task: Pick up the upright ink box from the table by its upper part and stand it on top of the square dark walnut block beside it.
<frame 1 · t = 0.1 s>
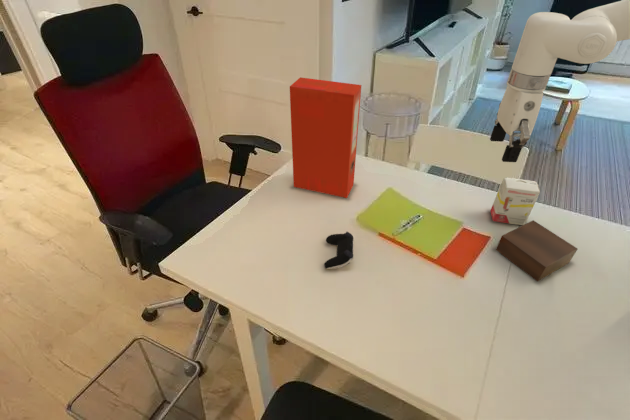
hand: (502, 150, 89), 23 cm above the table, tool pointing down, fingers open, 9 cm apart
gaming controller: (338, 255, 94), on the table
ink box: (506, 218, 105), on the table
file binder: (323, 186, 117), on the table
walnut block: (531, 256, 93), on the table
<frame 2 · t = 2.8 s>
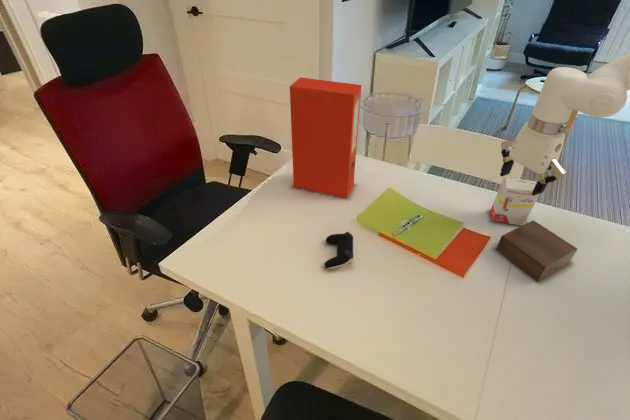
hand: (519, 183, 98), 12 cm above the table, tool pointing down, fingers open, 9 cm apart
ink box: (506, 219, 105), on the table, touching gripper
everything else where it was.
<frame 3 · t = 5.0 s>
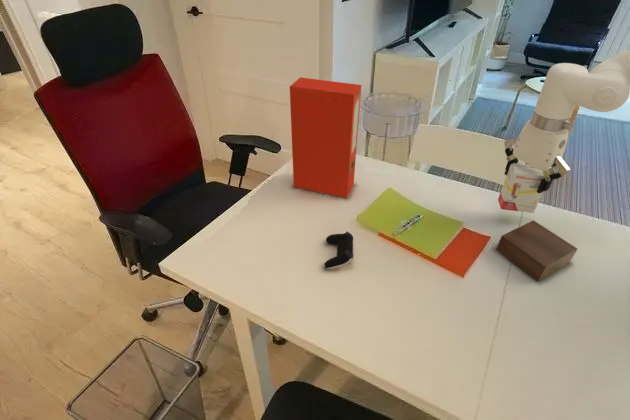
hand: (524, 182, 97), 13 cm above the table, tool pointing down, fingers closed on ink box, 9 cm apart
ink box: (515, 206, 102), point 4 cm above the table, touching gripper
everything else where it was.
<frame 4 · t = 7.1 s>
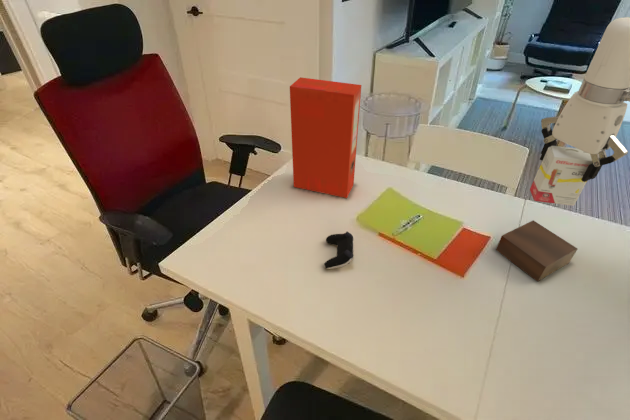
hand: (565, 168, 81), 24 cm above the table, tool pointing down, fingers closed on ink box, 9 cm apart
ink box: (550, 198, 86), point 16 cm above the table, touching gripper
everything else where it was.
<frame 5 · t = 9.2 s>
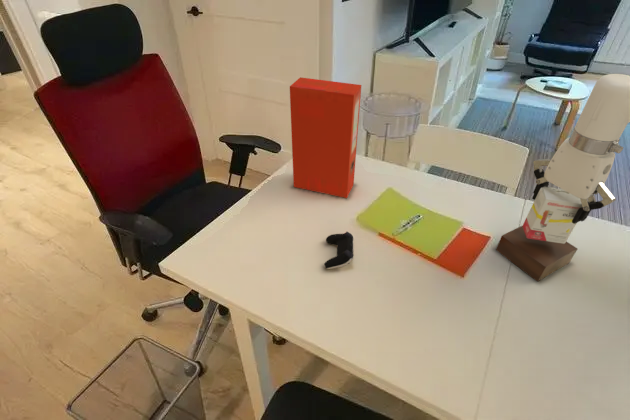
hand: (556, 209, 84), 15 cm above the table, tool pointing down, fingers closed on ink box, 9 cm apart
ink box: (542, 235, 89), point 7 cm above the table, touching gripper
everything else where it was.
when the fingers open (13 cm above the table, at t = 10.6 s): ink box stays where it is, resting on walnut block.
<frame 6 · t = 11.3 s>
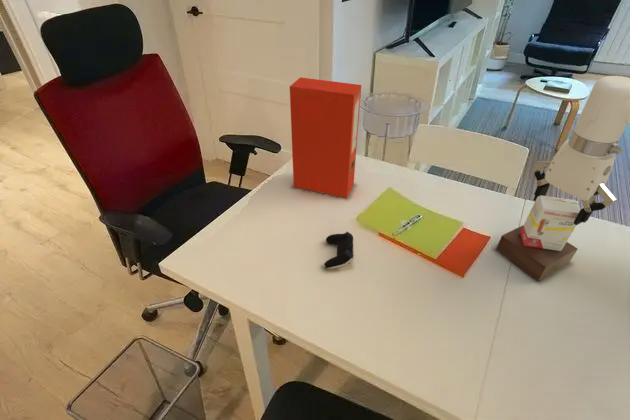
hand: (557, 210, 84), 15 cm above the table, tool pointing down, fingers open, 9 cm apart
ink box: (539, 242, 90), point 5 cm above the table, touching gripper, walnut block
everything else where it was.
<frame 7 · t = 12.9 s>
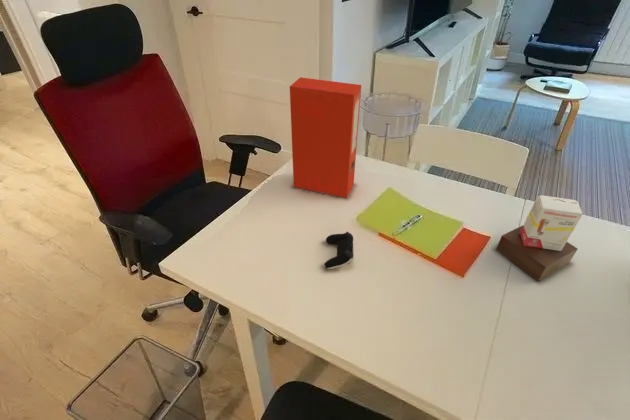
ink box: (539, 242, 90), point 5 cm above the table, touching walnut block
everything else where it was.
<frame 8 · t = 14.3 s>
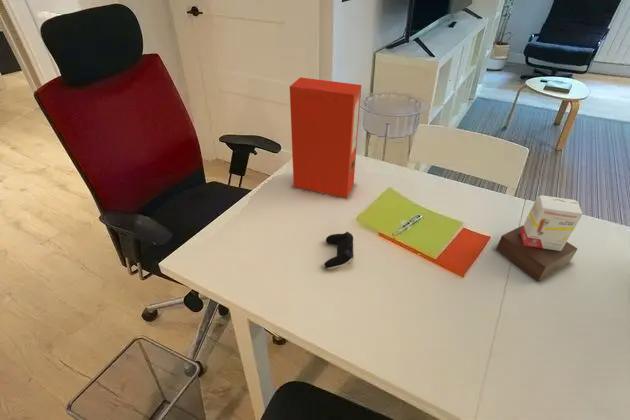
nothing on the table moved.
at the end: ink box inside the target area on the walnut block (0.1 cm from its centre), point 4.8 cm above the walnut block's base; ink box tilted 0°; the gripper is holding nothing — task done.
